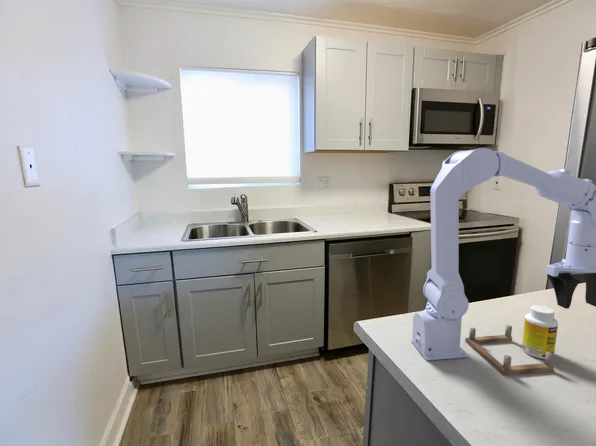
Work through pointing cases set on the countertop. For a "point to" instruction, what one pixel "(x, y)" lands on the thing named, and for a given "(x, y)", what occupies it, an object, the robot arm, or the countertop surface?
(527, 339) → the supplement bottle
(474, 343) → the peg frame
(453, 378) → the countertop surface
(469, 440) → the countertop surface
